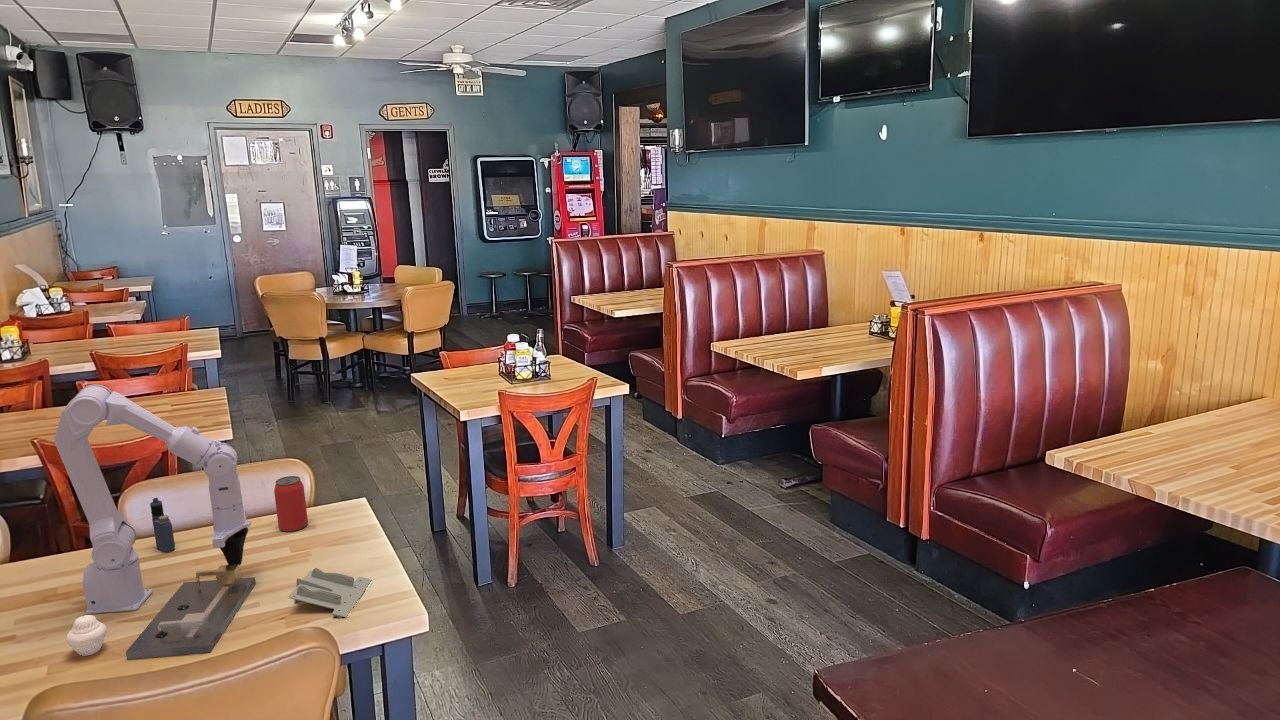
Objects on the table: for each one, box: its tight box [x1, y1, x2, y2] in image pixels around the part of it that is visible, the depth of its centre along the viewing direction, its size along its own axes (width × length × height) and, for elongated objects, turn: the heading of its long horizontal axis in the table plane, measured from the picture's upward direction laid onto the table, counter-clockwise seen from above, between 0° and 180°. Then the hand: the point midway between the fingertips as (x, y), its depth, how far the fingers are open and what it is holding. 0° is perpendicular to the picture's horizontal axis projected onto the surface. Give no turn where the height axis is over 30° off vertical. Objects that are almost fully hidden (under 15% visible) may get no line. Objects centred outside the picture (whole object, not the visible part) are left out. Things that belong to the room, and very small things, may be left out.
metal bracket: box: [288, 567, 373, 618], centre depth 170 cm, size 14×6×15 cm
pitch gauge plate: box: [125, 576, 257, 660], centre depth 164 cm, size 14×26×4 cm, turn 7°
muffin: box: [66, 614, 108, 657], centre depth 153 cm, size 6×6×7 cm
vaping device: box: [149, 497, 176, 553], centre depth 193 cm, size 3×5×12 cm, turn 54°
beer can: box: [273, 475, 309, 532], centre depth 204 cm, size 7×7×12 cm
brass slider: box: [195, 564, 242, 586], centre depth 173 cm, size 8×3×3 cm, turn 97°
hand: (235, 565), depth 177 cm, fingers closed
